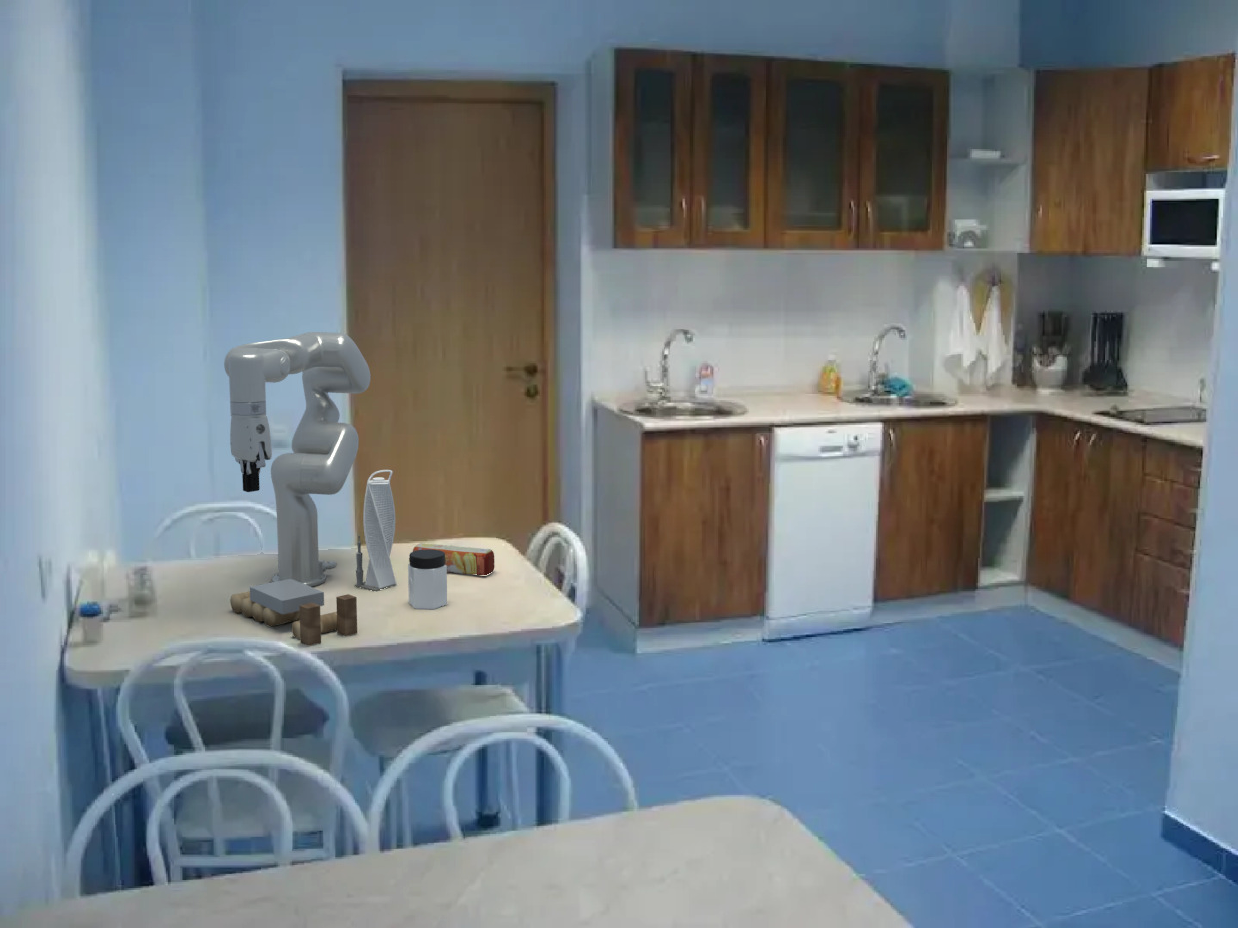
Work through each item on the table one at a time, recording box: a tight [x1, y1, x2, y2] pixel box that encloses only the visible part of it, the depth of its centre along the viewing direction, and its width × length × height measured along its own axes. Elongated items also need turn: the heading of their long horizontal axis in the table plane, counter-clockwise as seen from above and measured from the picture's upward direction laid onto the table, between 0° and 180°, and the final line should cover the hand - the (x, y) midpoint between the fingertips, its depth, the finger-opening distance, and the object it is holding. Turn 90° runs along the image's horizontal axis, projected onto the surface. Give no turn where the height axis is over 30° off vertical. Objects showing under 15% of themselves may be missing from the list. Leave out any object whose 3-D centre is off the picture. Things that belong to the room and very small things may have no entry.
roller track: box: [229, 590, 300, 628], centre depth 280 cm, size 10×18×4 cm, turn 47°
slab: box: [249, 579, 325, 614], centre depth 276 cm, size 10×14×3 cm
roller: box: [291, 611, 337, 640], centre depth 269 cm, size 10×4×4 cm
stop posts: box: [299, 593, 358, 647], centre depth 265 cm, size 12×3×8 cm, turn 137°
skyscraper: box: [354, 469, 397, 592], centre depth 302 cm, size 8×8×28 cm
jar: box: [407, 549, 448, 610], centre depth 290 cm, size 9×8×12 cm
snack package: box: [412, 542, 495, 575], centre depth 319 cm, size 21×7×7 cm, turn 68°
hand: (251, 490), depth 280 cm, fingers closed
